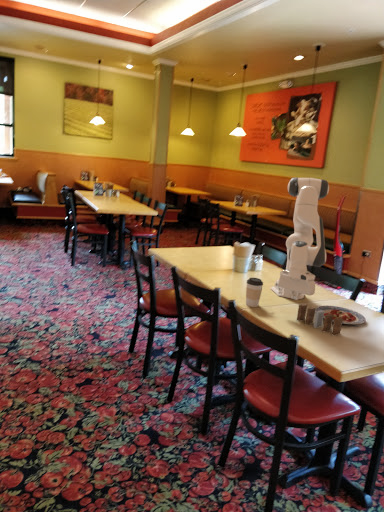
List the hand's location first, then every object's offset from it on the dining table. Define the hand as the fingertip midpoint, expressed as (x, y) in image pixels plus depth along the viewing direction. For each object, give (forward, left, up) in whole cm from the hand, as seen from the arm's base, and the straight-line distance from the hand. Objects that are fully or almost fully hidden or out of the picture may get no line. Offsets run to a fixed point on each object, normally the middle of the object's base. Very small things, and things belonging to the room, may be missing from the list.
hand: (294, 299), depth 216 cm
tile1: (+5, +2, -10) cm, 11 cm away
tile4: (+19, +7, -10) cm, 22 cm away
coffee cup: (-19, -14, -10) cm, 25 cm away
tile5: (+23, +9, -10) cm, 27 cm away
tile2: (+9, +4, -10) cm, 14 cm away
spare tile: (+14, +5, -10) cm, 18 cm away
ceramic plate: (+5, +26, -10) cm, 29 cm away
